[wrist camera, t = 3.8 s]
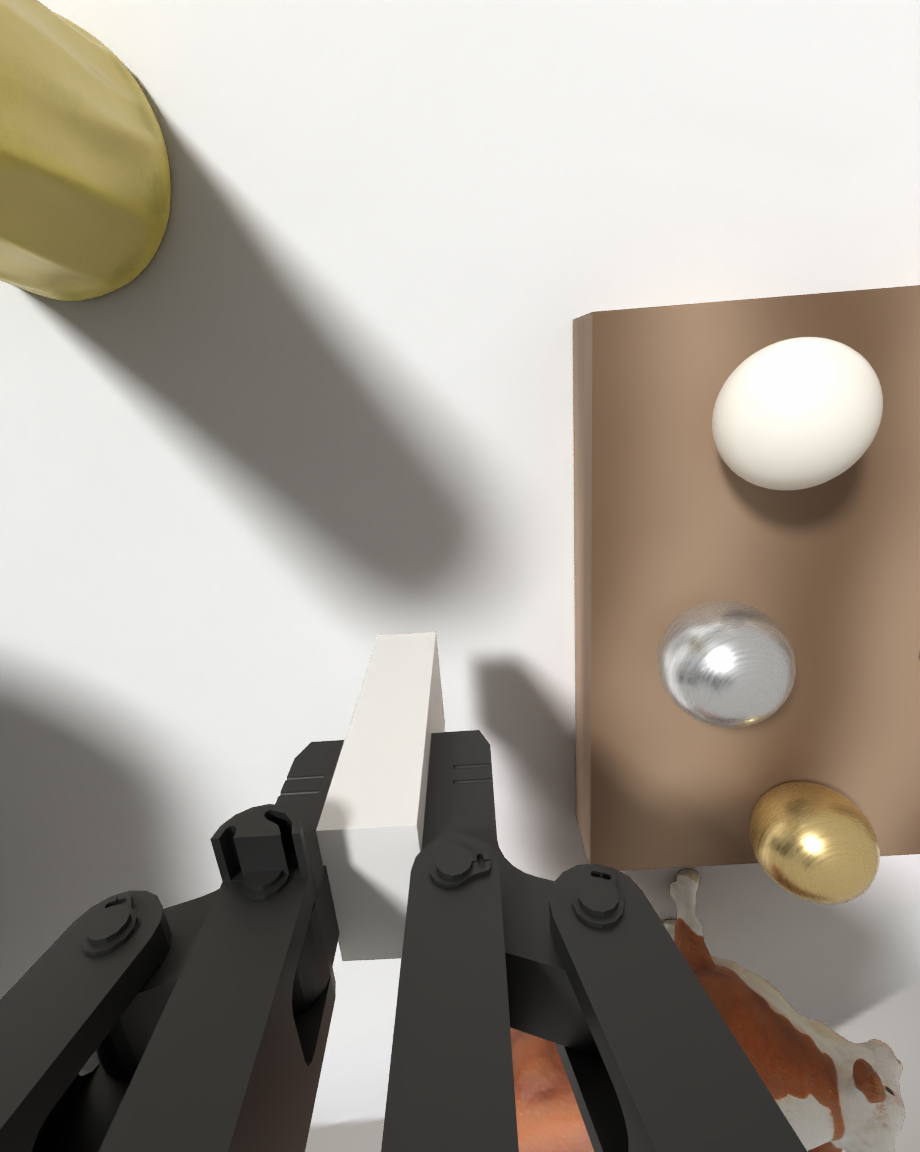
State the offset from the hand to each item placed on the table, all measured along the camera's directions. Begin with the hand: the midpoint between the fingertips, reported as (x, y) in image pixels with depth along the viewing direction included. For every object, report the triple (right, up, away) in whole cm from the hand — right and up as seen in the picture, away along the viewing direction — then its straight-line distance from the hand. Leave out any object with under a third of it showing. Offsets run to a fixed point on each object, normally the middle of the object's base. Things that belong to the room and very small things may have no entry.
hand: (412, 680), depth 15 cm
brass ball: (+11, -5, +2) cm, 13 cm away
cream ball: (+8, +6, -2) cm, 11 cm away
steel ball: (+8, 0, 0) cm, 8 cm away
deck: (+14, +2, +3) cm, 14 cm away
